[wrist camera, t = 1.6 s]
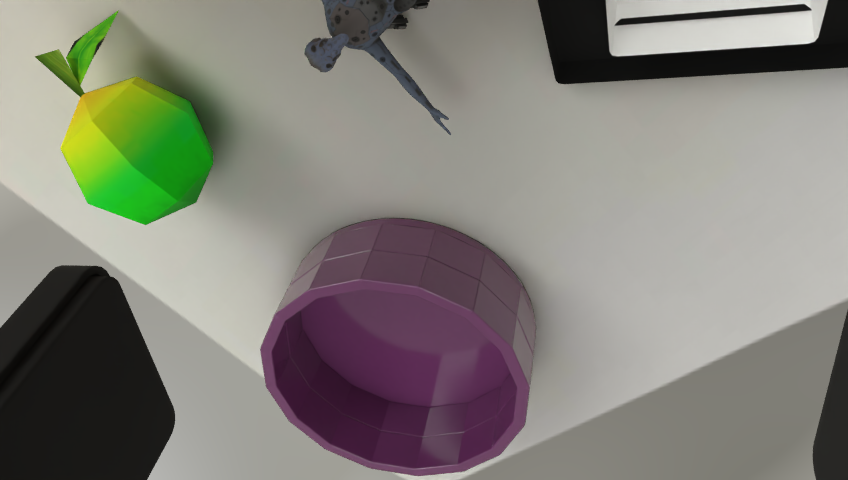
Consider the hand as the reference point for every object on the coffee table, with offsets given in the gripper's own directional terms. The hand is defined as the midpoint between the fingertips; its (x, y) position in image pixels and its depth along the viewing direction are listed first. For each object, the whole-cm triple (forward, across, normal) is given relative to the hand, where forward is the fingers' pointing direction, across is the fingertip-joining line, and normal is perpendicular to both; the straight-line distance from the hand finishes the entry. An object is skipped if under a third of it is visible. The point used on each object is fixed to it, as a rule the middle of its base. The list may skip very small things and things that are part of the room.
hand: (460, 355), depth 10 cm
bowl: (+24, +8, +20) cm, 32 cm away
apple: (+24, +19, +7) cm, 31 cm away
